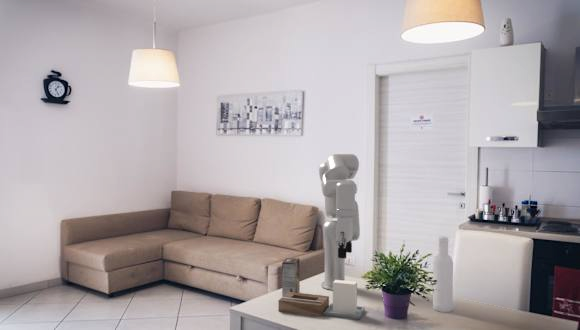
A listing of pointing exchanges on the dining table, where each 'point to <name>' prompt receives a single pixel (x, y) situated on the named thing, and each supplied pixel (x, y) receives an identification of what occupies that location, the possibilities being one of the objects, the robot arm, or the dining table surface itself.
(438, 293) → the bottle
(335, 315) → the grey tray
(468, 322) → the dining table surface
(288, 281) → the tall grey box
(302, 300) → the brown wooden flat box
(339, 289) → the white block
